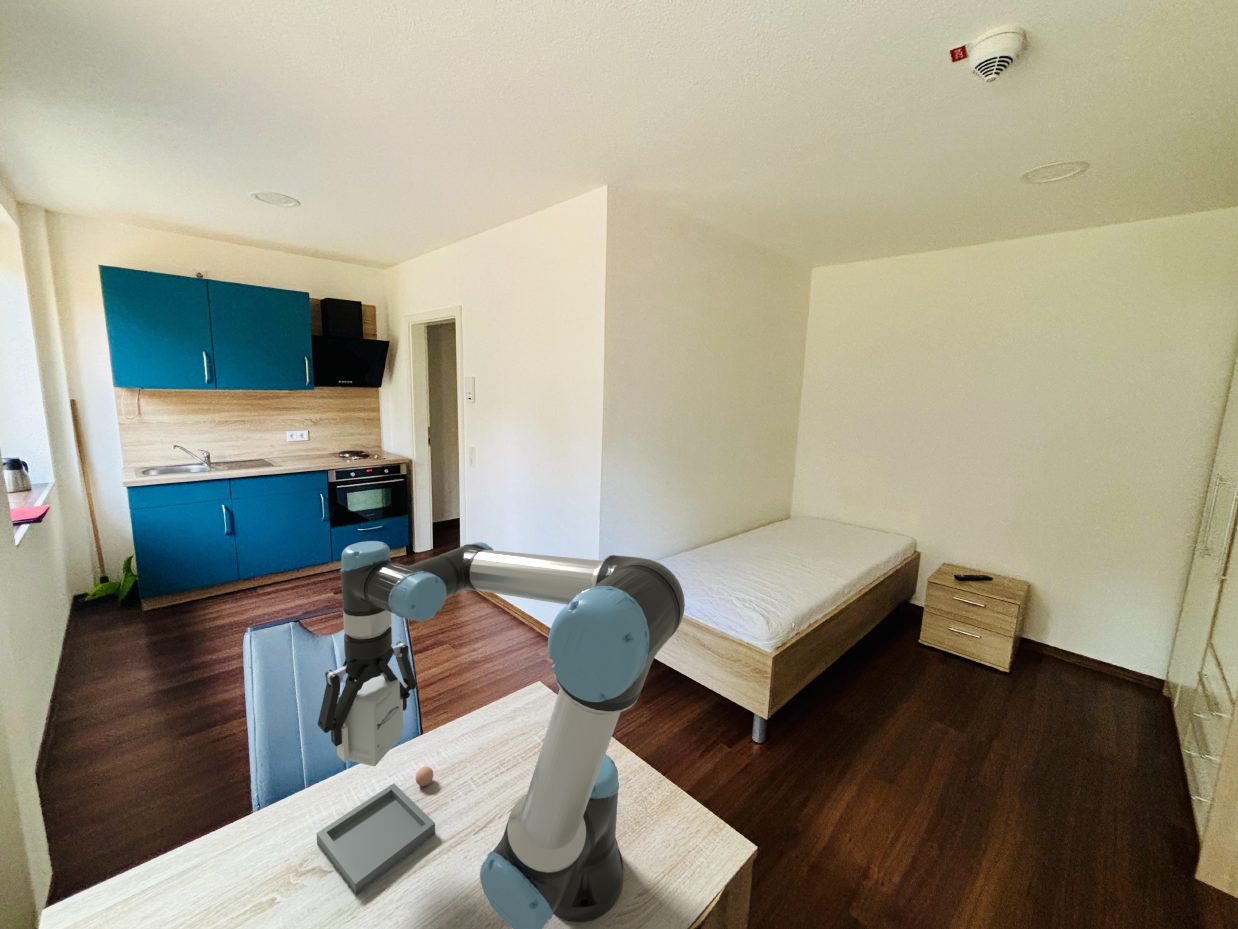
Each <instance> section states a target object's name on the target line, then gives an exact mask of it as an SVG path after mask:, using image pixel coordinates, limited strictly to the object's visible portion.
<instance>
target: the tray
mask: <svg viewBox="0 0 1238 929" xmlns="http://www.w3.org/2000/svg"><path fill="white" fill-rule="evenodd" d="M434 835H436V822H435V821H434V820H433V819H432V818H430V817H429V816H428V815H427V814H426V812H424V811H423V810H422V809H421V808H420V807H419V806H418V805H417V804H416V803H415V802H414V801H413V800H412V799H411V798H410V797H409V796H408V795H407V794H406V793H405V792H404V791H403V790H402V789H401V788H400V787H398V785H397V784H396V783H394V782H393V783H391V784H390V785H388V786H387V787H386V788H384V789H382V790H381V791H379V792H378V793H376V794H375V795H373V796H372V797H370V798H368V799H367V800H365V801H364V802H362V803H361V804H360V805H359V804H358V805H357V806H356V807H355V808H352V810H349V811H348V812H347V813H345V814H344V815H342V816H340V817H339V818H338V819H336V820H334V821H333V822H331V823H330V824H328V825H327V826H325V827H324V828H322V829H320V830H319V831H317V832H316V845H317V846H318V847H319V849H320V850H321V851H322V853H323V854H324V856H325V857H326V858H327V860H328V861H329V862H330V864H332V866H333V867H334V869H335V870H336V872H337V873H338V874H339V876H340V877H341V878H342V879H343V880H342V881H343V882H345V883H346V885H347V887H348V888H349V889H350V891H351V892H352V893H353V894H354V895H355V897H357V896H359V895H360V894H361V893H362V892H364V891H365V890H366V889H367V888H369V887H370V886H371V885H373V884H374V883H375V882H377V881H378V880H379V879H380V878H381V877H382V876H384V875H385V874H386V873H388V872H389V871H391V869H392V868H393V869H394V867H395V866H397V865H398V864H399V863H401V862H402V861H403V860H405V858H407V857H408V856H409V855H410V854H412V853H413V852H414V851H416V850H417V849H419V848H420V847H421V846H422V845H423V844H425V843H426V842H427V841H429V840H430V839H431V838H432V837H433V836H434Z"/></svg>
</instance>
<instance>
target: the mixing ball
mask: <svg viewBox="0 0 1238 929" xmlns="http://www.w3.org/2000/svg"><path fill="white" fill-rule="evenodd" d="M433 778H434V771H433V769H432V768H431V767H430V766H428V765H427V766H423V767H420V768H418V770H417V771H416V774H415V782H416V784H417V785H419V786H420V787H424V786H427V785H429V784H430V783H431V782H432V780H433Z"/></svg>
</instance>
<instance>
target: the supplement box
mask: <svg viewBox="0 0 1238 929" xmlns="http://www.w3.org/2000/svg"><path fill="white" fill-rule="evenodd" d="M400 682H401V679H397V680H394V681H392V682H390V681H389V680H387V679H386V678H385V677H384V676H383V675H380V676H378V677H375V678H372V679H370V680H369V681H367V682H365V683H364V684H363V686H362V688H361V690H359V691H358V693H357V695H356V697H355V700H354V702H353V704H352V706H351V709H350V711H349V713H348V715H347V718H346V720H345V722H344V724H345V725H346V726H347V727H348V750H349V760H348V761H349V762H353V763H358V764H362V765H365V766H369V767H376V766H377V765H378V764H379V763H380V762H381V760H382V759H383V758H384V757H385V756H386V755H387V753H389V751H391V749H392V748H394V746H395V745H396V744H397V743H398V742H399V741H400V740H401V731H400ZM340 696H341V694H339V697H338V701H339V698H340ZM348 761H347V762H348Z"/></svg>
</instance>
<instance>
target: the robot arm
mask: <svg viewBox="0 0 1238 929" xmlns="http://www.w3.org/2000/svg"><path fill="white" fill-rule="evenodd" d="M391 557H392V556H391V550H390V546H389V545H388V544H387V543H385V542H383V541H378V540H367V541H360V542H356V543H352V544H350V545H348V546H346V547H345V548H344V549H343V551H342V552H341V568H340V570H339V571H340V581H341V597H342V599H341V600H342V614H343V615H342V616H343V631H344V632H343V633H344V635H343V644H344V645H343V646H344V647H343V648H344V657H345V659H344V662H343V665H342V667H339V668H337V669H336V670H332V669H328V670H327V671H326V672H324V674H325V675H324V677H325V682H326V686H325V690H324V695H323V698H322V703H321V706H320V713H319V716H318V721H317V726H318V727H319V728H320V729H321V731H322V732H323V733H324V734H325V733H326V734H327V733H329V732H330V741H331V743H332V744H333V745H334V746H335V747H336V755H337V756H338V757H339V759H340V760H341V761H342V762H343V763H347V762H348V760H349V750H348V727H347V726H346V725H345V724H344V722H345V720H346V718H347V715H348V713H349V711H350V709H351V706H352V704H353V702H354V700H355V697H356V695H357V693H358V691H359V690H361V688H362V686H363V684H364V683H365V682H367V681H369V680H370V679H372V678H375V677H378V676H383V677H385V678H386V679H387V680H389V681H390V682H392V681H394V680H397V679H398V677H397V675H396V674H395V673H394V672H393V670H392V669H391V667H390V666H389V665H388V664H389V662H390V661H391V659H392V657H393V656H395V659H396V660H395V661H396V662H397V665H398V670H399V672H400V675H401V678H402V681H403V683H402V682H401V681H400V732H401V731H404V711H406V710H407V708H408V698H410V696H411V692H410V691H411V690H412V691H413V690H415V689H416V687H417V681H416V679H415V675H414V672H413V668H412V665H411V662H410V659H409V648H410V647H409V646H408V645H407V644H406V643H404V642H402V640H401V641H400V640H399V641H397V642H396V644H395V645H393V642H392V641H393V632H392V624H393V623H392V622H393V621H392V620H393V619H392V614H394V615H396V616H397V617H399V618H401V619H402V618H404V619H409V620H411V621H415V622H424V621H425V622H426V621H428V620H430V619H432V618H433V617H435V616H436V614H437V612H439V611H441V609H442V608H443V606H444V604H445V601H446V599H447V598H450V597H452V596H454V595H456V594H458V593H460V592H463V591H465V590H469V591H474V592H475V591H476V592H485V593H490V594H496V595H503V596H508V597H509V596H510V597H516V598H522V599H523V598H524V599H529V600H535V601H540V602H548V603H553V604H559V605H560V604H561V605H565V606H564V607H563V608H561V610H560V611H559V612H558V614H557V615H556V617H555V618H554V620H553V622H552V624H551V627H550V630H549V635H548V639H547V653H548V658H549V659H550V660H552V662H553V665H551V669H552V671H553V675H554V678H555V682H556V684H557V686H558V688H559V691H558V694H557V697H556V699H555V700H556V701H555V703H554V706H553V710H552V713H551V716H550V719H549V722H548V725H547V729H546V732H545V735H544V739H543V742H542V744H541V748H540V751H539V754H538V758H537V761H536V764H535V767H534V770H533V774H532V777H531V780H530V783H529V787H528V790H527V792H526V794H525V795H522V796H521V797H520V798H519V799H518V800H517V801H516V802H515V804H514V805H513V808H512V809H511V811H510V813H509V816H508V819H507V823H506V825H505V829H504V833H503V835H502V838H501V839H500V840H499V842H498V844H497V845H496V846H495V848H494V849H493V850H492V851H490V852H489V853H488V854H487V857H486V859H485V860H484V861H483V863H482V864H481V866H480V870H479V879H480V885H481V888H482V891H483V893H484V896H485V897H486V899H487V901H488V904H489V905H490V906H491V908H492V909H493V910H494V911H495V913H496V914H497V915H498V917H499V918H500V919H502V920H503V921H504V923H506V924H507V925H508V926H510V928H512V929H544V927H545V926H546V924H547V923H548V921H549V920H551V919H552V918H553V916H554V914H555V915H556V916H558V917H559V918H562V919H563V920H567V921H572V922H588V921H593V920H595V919H597V918H600V917H602V916H603V915H605V914H606V913H607V912H608V911H610V910H611V909H612V908H613V906H614V905H615V904H616V902H617V901H618V899H619V897H620V895H621V893H622V889H623V886H624V871H625V869H624V868H625V866H624V860H623V856H622V853H621V851H620V848H619V844H618V840H617V838H616V835H617V833H616V830H617V817H618V816H617V815H618V802H619V801H618V797H619V790H620V782H619V772H618V768H617V766H616V763H615V761H614V760H613V759H612V758H611V757H610V755H608V754H607V751H608V748H609V746H610V743H611V740H612V737H613V735H614V731H615V729H616V726H617V723H618V720H619V719H620V716H621V713H622V712H625V711H627V710H628V709H630V708H632V707H633V706H634V705H635V704H636V703H637V701H638V699H639V698H640V695H641V692H642V689H643V687H644V685H645V682H646V679H647V676H648V674H649V671H650V669H651V666H652V664H653V661H654V659H655V657H656V655H657V654H658V652H660V650H661V649H662V648H663V647H664V646H665V645H666V643H667V642H668V640H669V639H670V638H672V637H673V635H674V634H675V633H676V632H677V630H678V629H679V627H680V625H681V623H682V621H683V617H684V613H685V605H686V603H685V602H686V601H685V595H684V592H683V587H682V586H681V584H680V581H679V580H678V578H677V576H676V575H675V574H674V573H673V572H672V571H671V570H670V569H669V568H668V567H666V566H665V565H663V564H661V563H660V562H658V561H656V560H653V559H649V558H644V557H638V556H637V557H636V556H628V555H627V556H626V555H615V554H612V555H610V554H609V555H607V556H606V557H605V558H603V560H597V559H589V558H587V559H586V558H585V559H584V558H577V557H566V556H557V555H545V554H535V553H533V554H532V553H523V552H521V553H520V552H513V551H504V550H503V551H502V550H494V549H493V548H492V546H489V545H488V544H487V542H482V541H481V542H480V541H479V542H478V541H477V542H476V541H475V542H473V543H466V544H464V545H462V546H460V547H458V548H455V549H452V550H450V551H447V552H445V553H441V554H439V555H435V556H434V557H430V558H428V559H426V560H422V561H420V562H416V563H414V564H412V565H411V564H410V565H404V564H401V563H398V562H395V561H392V560H391ZM392 645H393V646H392ZM346 675H347V677H346V678H345V681H344V680H343V679H344V676H346ZM343 682H344V683H345V686H343V687H344V688H343V690H342V692H341V684H342V683H343ZM340 692H341V694H340ZM340 695H341V696H340ZM339 696H340V698H339V700H338V697H339Z"/></svg>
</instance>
